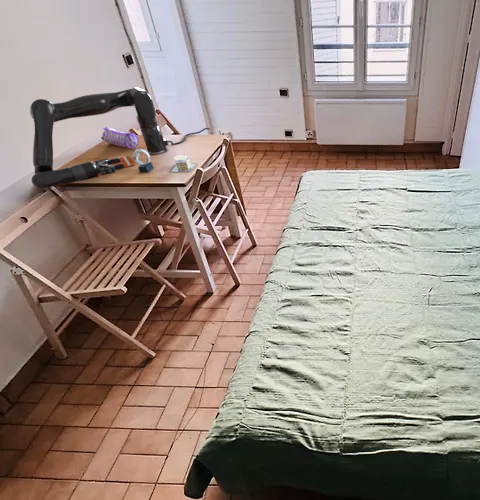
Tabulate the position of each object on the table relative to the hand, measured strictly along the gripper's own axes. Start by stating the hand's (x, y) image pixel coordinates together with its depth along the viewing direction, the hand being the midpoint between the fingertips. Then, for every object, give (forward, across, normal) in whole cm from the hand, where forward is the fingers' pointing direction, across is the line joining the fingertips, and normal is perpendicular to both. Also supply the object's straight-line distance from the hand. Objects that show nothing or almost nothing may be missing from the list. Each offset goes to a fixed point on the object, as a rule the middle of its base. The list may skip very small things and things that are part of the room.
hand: (121, 162), depth 186 cm
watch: (+10, 0, +7) cm, 12 cm away
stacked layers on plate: (+26, -9, +7) cm, 28 cm away
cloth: (-4, +17, +7) cm, 19 cm away
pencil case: (+7, +43, +7) cm, 44 cm away
